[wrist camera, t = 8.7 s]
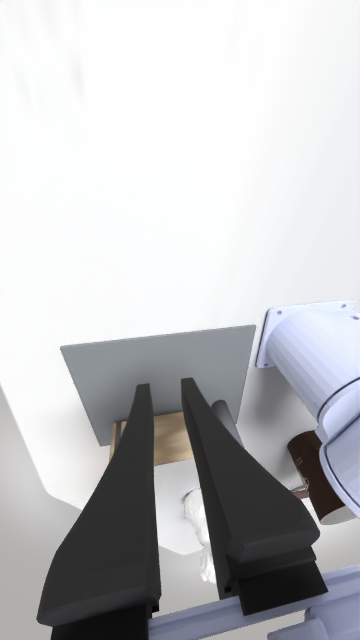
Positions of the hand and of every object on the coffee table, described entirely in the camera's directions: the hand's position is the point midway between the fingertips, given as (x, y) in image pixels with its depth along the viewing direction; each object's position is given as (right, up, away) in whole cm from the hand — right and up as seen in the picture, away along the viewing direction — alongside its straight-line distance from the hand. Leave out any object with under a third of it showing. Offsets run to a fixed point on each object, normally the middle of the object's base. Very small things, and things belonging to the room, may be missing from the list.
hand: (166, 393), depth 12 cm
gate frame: (-1, -5, +14) cm, 15 cm away
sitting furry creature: (+5, -30, +32) cm, 44 cm away
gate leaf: (-1, -8, +15) cm, 17 cm away
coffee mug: (+23, -16, +26) cm, 38 cm away
